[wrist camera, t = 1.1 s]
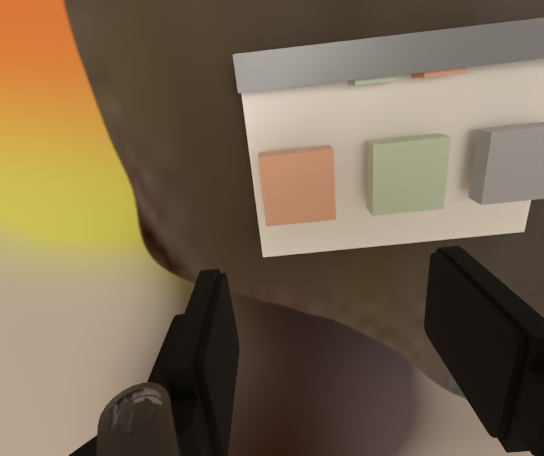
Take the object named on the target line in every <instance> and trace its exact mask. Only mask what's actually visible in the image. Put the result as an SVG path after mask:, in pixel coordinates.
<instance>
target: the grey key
mask: <svg viewBox="0 0 544 456" xmlns="http://www.w3.org/2000/svg"><path fill="white" fill-rule="evenodd" d="M468 198H470V199H471V200H473V201H475V202H477V203H478V204H480V205H486V204H496V203H506V202H516V201H526V200H536V199H544V122H538V123H529V124H520V125H510V126H501V127H492V128H483V129H477V137H476V144H475V152H474V159H473V167H472V174H471V182H470V190H469V197H468Z"/></svg>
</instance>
